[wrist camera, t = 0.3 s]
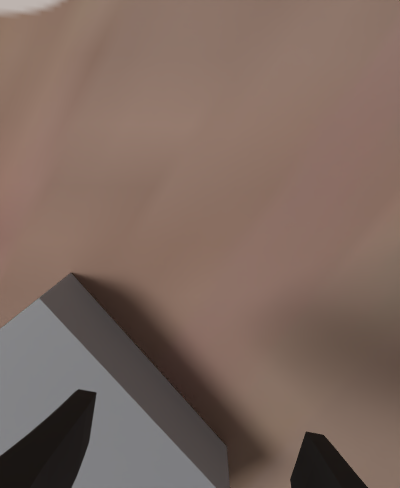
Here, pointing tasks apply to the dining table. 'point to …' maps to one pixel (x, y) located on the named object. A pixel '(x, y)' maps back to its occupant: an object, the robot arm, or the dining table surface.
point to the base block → (103, 397)
